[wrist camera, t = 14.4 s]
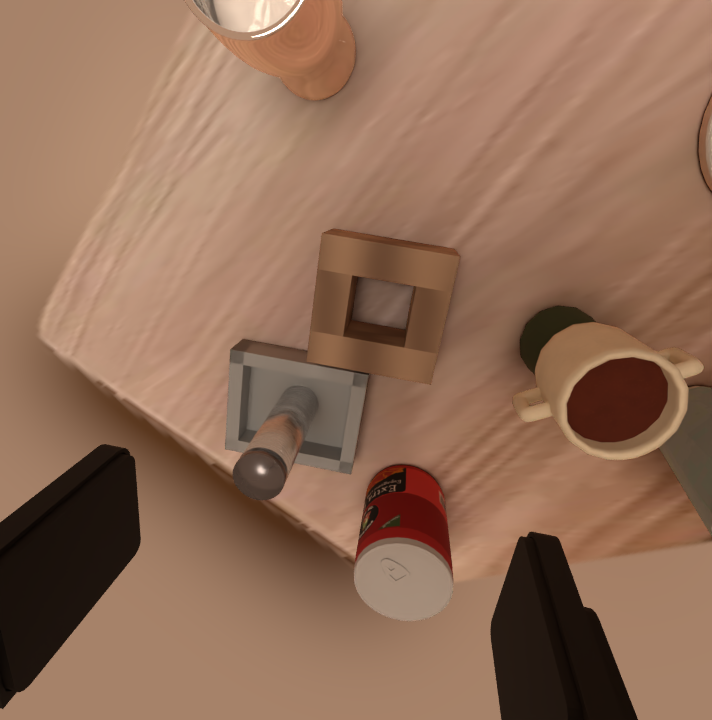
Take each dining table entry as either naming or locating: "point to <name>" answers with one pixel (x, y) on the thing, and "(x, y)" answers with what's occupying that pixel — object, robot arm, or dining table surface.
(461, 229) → the dining table surface
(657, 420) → the character mug
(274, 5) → the beer glass
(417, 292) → the block
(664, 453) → the disposable coffee cup
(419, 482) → the canned food
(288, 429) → the pin
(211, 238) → the dining table surface
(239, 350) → the tray
